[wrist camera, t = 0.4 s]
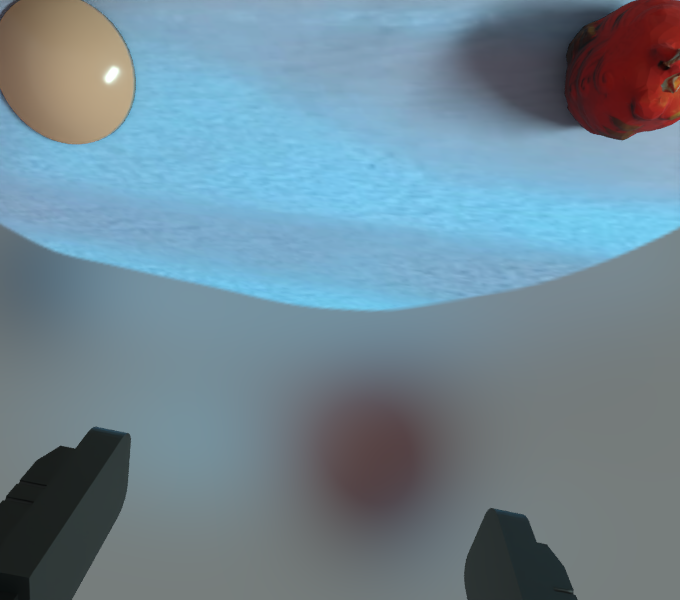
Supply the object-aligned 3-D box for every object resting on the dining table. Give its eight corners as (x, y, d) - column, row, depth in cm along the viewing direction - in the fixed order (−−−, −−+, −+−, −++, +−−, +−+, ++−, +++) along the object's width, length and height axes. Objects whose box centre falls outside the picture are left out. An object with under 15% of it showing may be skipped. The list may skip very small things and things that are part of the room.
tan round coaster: (-3, -23, 33) (-9, -25, 32) (141, 14, 33) (137, 12, 33) (-1, 125, 36) (-6, 126, 36) (130, 156, 37) (126, 158, 36)
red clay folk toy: (615, 151, 35) (777, 197, 22) (526, 100, 34) (637, 113, 21) (694, 38, 33) (939, 7, 19) (601, -21, 32) (786, -101, 18)
